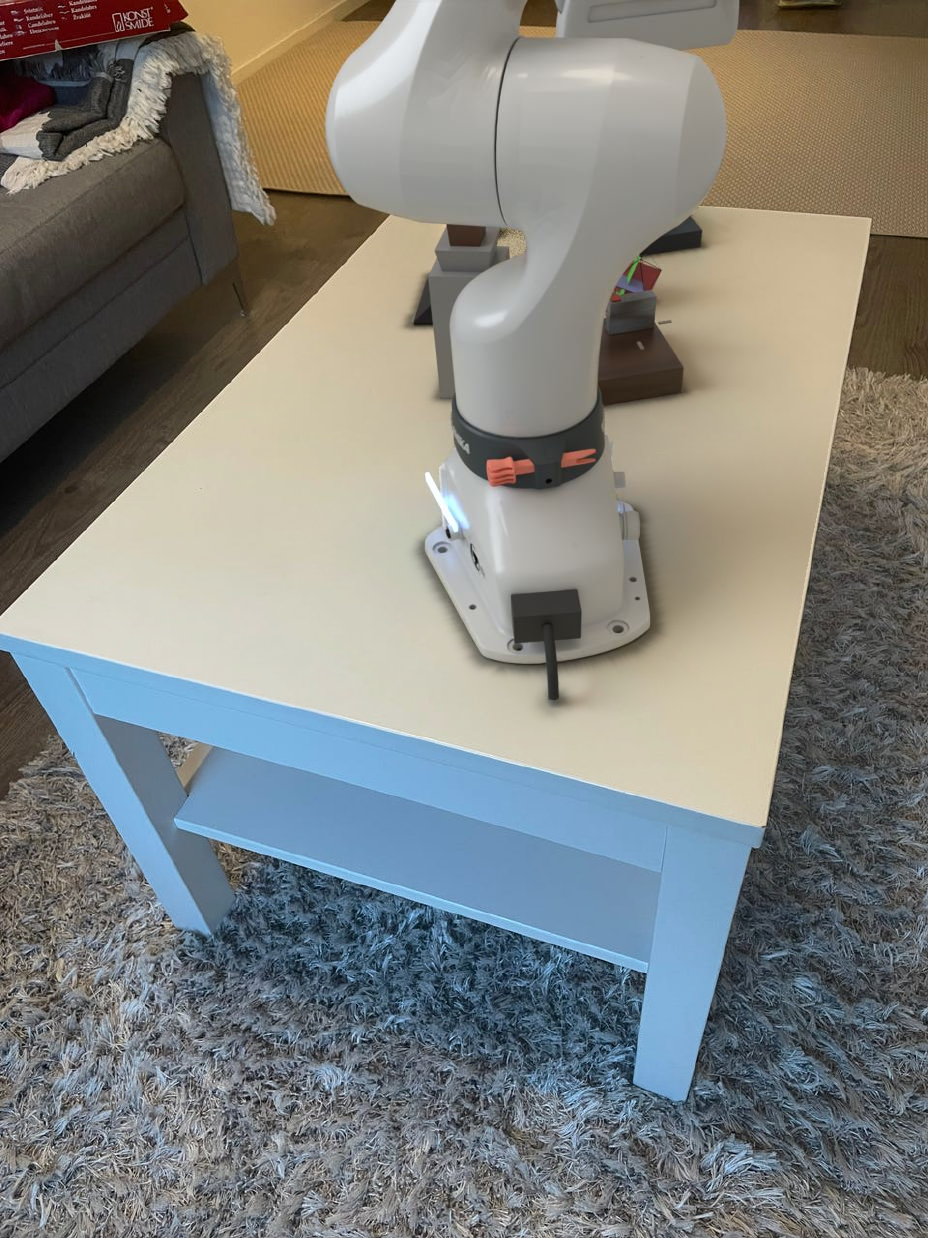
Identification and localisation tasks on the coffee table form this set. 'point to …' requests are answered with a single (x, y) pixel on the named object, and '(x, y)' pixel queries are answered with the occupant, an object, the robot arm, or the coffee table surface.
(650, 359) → the dark brown block
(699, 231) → the block
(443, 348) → the perfume bottle
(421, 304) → the black triangular piece
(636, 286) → the geometric puzzle
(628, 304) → the grey block
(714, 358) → the coffee table surface
